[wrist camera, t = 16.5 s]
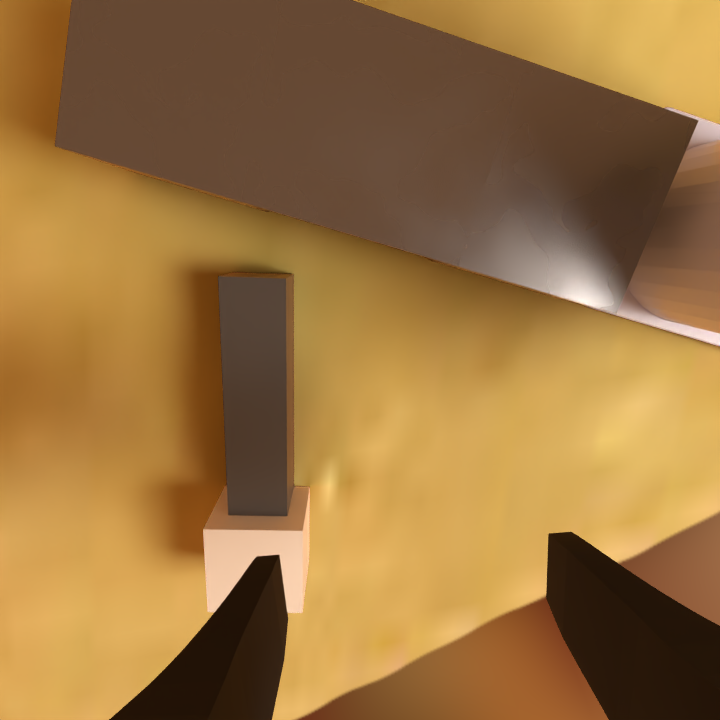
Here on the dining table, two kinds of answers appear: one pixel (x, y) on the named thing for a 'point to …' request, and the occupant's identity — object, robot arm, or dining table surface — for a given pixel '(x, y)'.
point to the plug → (258, 441)
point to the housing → (377, 134)
